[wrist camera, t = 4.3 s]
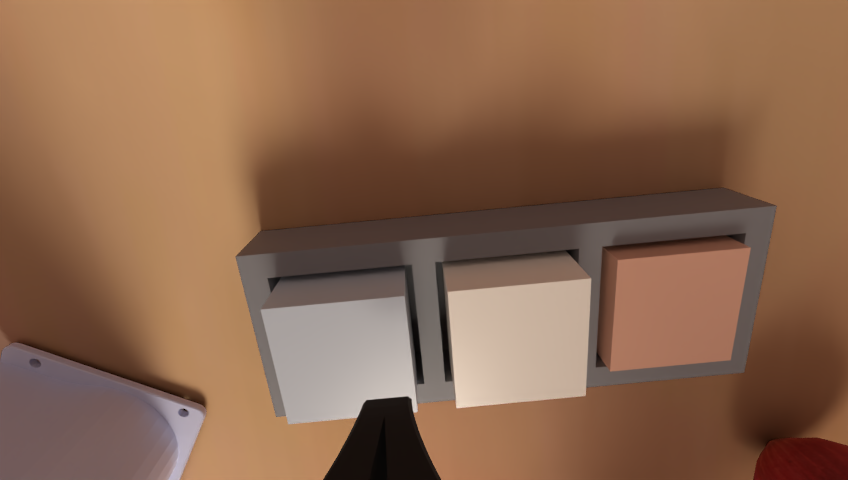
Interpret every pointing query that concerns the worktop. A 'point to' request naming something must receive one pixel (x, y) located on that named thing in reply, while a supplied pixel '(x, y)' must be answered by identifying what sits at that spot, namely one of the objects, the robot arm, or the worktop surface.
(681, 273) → the terracotta key
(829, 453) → the onion
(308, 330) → the light gray key
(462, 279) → the cream key
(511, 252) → the key panel
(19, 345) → the robot arm
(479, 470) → the worktop surface
